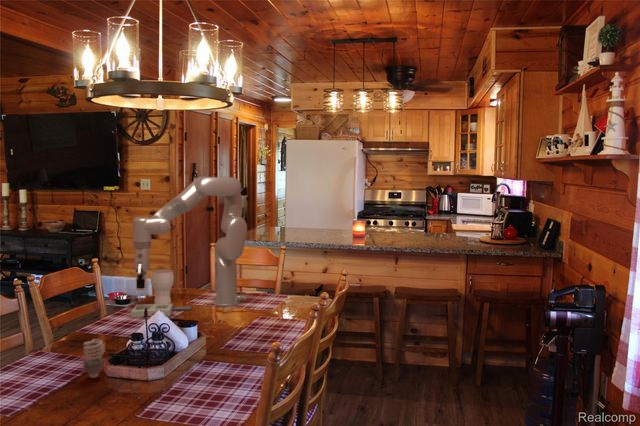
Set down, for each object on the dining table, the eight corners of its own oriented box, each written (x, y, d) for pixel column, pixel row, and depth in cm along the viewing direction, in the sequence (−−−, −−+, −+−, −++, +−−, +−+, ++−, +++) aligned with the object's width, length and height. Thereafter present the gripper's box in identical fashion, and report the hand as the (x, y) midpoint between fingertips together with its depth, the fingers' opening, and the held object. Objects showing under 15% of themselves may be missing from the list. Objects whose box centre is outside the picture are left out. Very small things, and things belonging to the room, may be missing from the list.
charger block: (147, 288, 230) (147, 272, 229) (145, 290, 226) (145, 273, 225) (137, 288, 229) (137, 272, 229) (135, 290, 225) (136, 273, 225)
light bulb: (98, 373, 161) (97, 335, 160) (107, 377, 158) (106, 339, 157) (80, 378, 157) (79, 339, 156) (89, 383, 154) (88, 344, 153)
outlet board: (172, 308, 237) (172, 302, 236) (169, 316, 225) (169, 309, 225) (136, 309, 234) (136, 303, 234) (131, 317, 222) (131, 310, 222)
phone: (192, 309, 239) (192, 306, 239) (191, 311, 234) (191, 308, 234) (174, 309, 238) (174, 306, 238) (173, 312, 233) (173, 309, 233)
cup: (149, 301, 250) (149, 270, 249) (172, 299, 254) (171, 268, 253) (152, 306, 240) (152, 274, 239) (175, 304, 245) (175, 272, 244)
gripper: (147, 248, 219) (147, 291, 220) (153, 243, 235) (153, 283, 236) (129, 248, 217) (128, 291, 219) (136, 242, 234) (136, 283, 235)
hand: (141, 286), depth 227 cm, fingers closed on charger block, 4 cm apart
